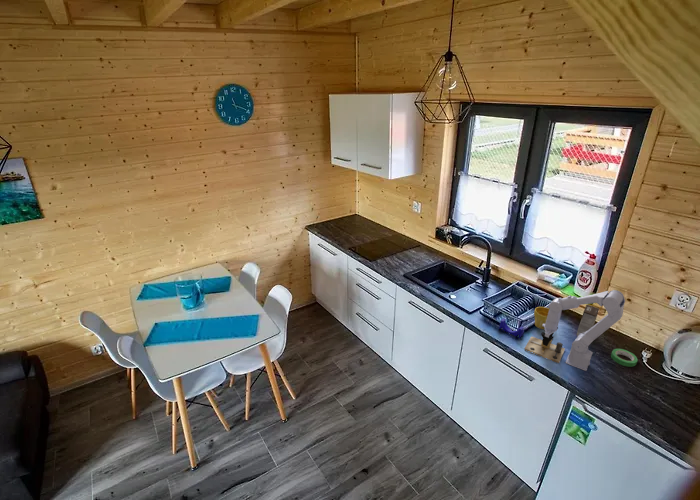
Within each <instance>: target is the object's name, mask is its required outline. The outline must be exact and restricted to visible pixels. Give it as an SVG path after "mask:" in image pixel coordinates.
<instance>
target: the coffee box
mask: <svg viewBox="0 0 700 500" xmlns="http://www.w3.org/2000/svg"><path fill="white" fill-rule="evenodd" d="M599 310H600V308H599V307H596V306H593V305H590V304H585V308H584V310H583V311H582V316H581V320H580V321H579V322H580V323H579V325H578V327H577V328H578V329H577V331H576V336H577V337H578V335H579V334H580V333H584V332H586V331H588V330H589V329H590V328H592V327H593V326H594V325H595V324H596V320H597V317H598V314H599Z"/></svg>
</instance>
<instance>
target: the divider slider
mask: <svg viewBox="0 0 700 500" xmlns="http://www.w3.org/2000/svg"><path fill="white" fill-rule="evenodd" d="M541 340H542V344H541V346H543V347H544V348H543V351H542V352H544V350H545V348H548V349H549V348H550V346H551V344H553V343H552V342H553V339H552V340H551V341H550V342H549V344H548V345H547V346H545V345H543V339H541Z"/></svg>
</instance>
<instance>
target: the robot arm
mask: <svg viewBox="0 0 700 500" xmlns="http://www.w3.org/2000/svg"><path fill="white" fill-rule="evenodd" d="M590 304H597V305H598V306H600V307H603V308H604V309H605V310H606V312H607V314H606V315H605V316H604V317H602V318H601V319H600V320H598V322H597V323H596V322H595V324H594V326H593V327H592V328H590V329H589V330H588V331H586V332H584V333H580V334H579V335H578V336H577V337H576V338H575V340H574V341H572V343H571V348H570V351H569V354H568V355H567V358H566V360H565V364H567V365H569V366H572V367H575V368H577V369H580V370H583V371H585V372H587V370H588V368H589V366H590V364H591V360H592V359H591V358H592V355H593V351H591V350H589V346H590V345H591V343H593V341H595V340H596V339H598V337H600V336H601V335H603V333H605V332H606V331H607V330H609V329H610V328H611V327H612V326H614V325H615V324H616V323H617V322H618V321H620V320H622V317H623V315H624V307H625V304H626V298H625V296H624V293H622V292H621V291H619V290H615V289H612V290H605V291H602V292H598V293H594V294H589V295H585V296H579V297H577V296H575V295H568V296H567V297H563V298H562V297H555V298H554V299H553V300H552V301H551V302H550V303H549V305H548V308H549V312H548V316H547V320H546V323H545V324H543V325H542V326H543V327H544V329H543V330H544V331H542V332H541V339H542V340H543V345H545V346H547V345H548V344H549V342H550V341H551V340H552V341H553V339H554V334H555V332H557V331H558V329H559V323H560V320H561V316H562V311H565V310H567V311H568V310H572V309H577V308H580V305H590Z"/></svg>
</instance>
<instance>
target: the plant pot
mask: <svg viewBox="0 0 700 500" xmlns="http://www.w3.org/2000/svg"><path fill="white" fill-rule="evenodd" d="M548 312H549V307H546V306H538V307H535V309H534V312H533V316H534V325H535V327H536V328H537V329H541V330H545V329H544V327H543V326H542V325H543V324H545V323H546V320H547V316H548Z"/></svg>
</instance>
